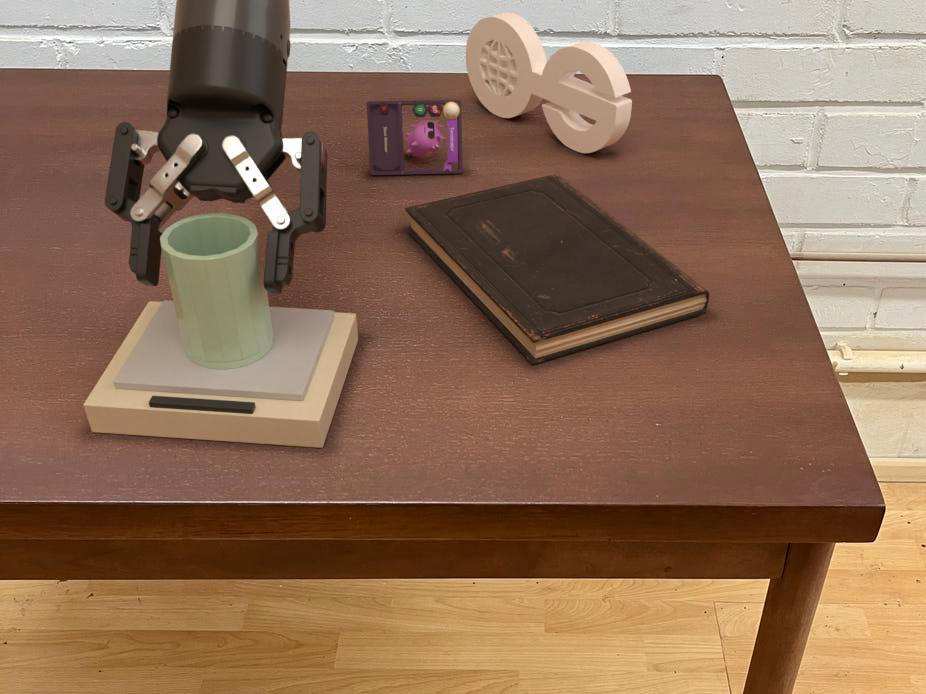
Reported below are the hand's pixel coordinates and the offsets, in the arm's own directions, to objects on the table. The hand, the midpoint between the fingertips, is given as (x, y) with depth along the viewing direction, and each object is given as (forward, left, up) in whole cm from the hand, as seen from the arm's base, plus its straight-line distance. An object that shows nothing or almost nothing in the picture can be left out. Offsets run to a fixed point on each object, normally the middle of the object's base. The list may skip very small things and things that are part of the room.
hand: (209, 287), depth 67 cm
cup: (0, +1, -5) cm, 6 cm away
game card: (+8, +38, -9) cm, 40 cm away
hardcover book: (+22, +19, -9) cm, 31 cm away
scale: (0, +1, -8) cm, 8 cm away
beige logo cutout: (+20, +48, -9) cm, 53 cm away
